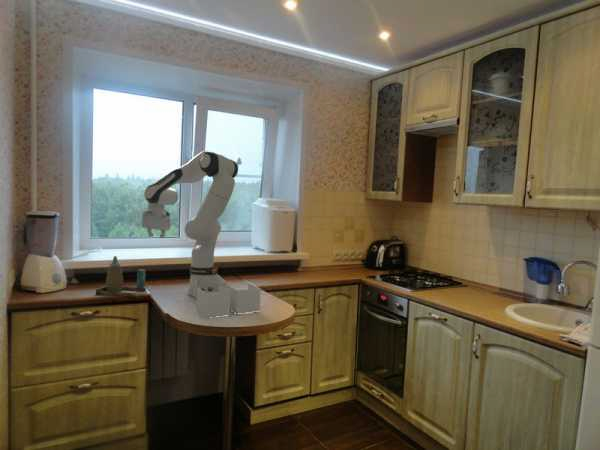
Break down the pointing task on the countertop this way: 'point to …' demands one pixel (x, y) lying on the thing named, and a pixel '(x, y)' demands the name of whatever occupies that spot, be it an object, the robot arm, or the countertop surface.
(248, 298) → the storage container
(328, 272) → the countertop surface
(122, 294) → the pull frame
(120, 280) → the squeeze bottle
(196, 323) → the countertop surface
